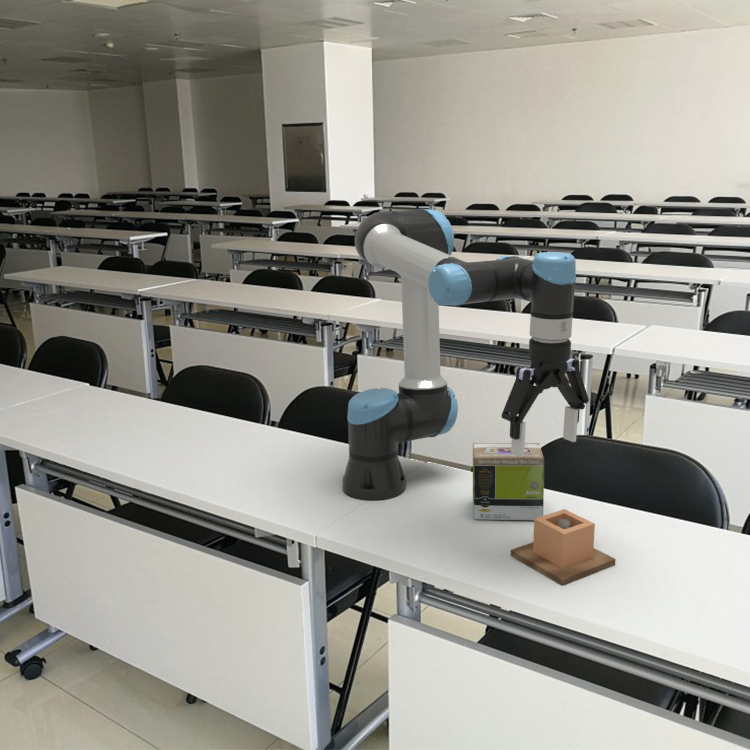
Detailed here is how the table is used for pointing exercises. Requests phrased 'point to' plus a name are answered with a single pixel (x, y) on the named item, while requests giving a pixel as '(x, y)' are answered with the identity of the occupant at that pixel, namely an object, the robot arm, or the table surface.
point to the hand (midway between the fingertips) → (544, 447)
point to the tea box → (507, 482)
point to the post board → (558, 573)
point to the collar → (563, 538)
